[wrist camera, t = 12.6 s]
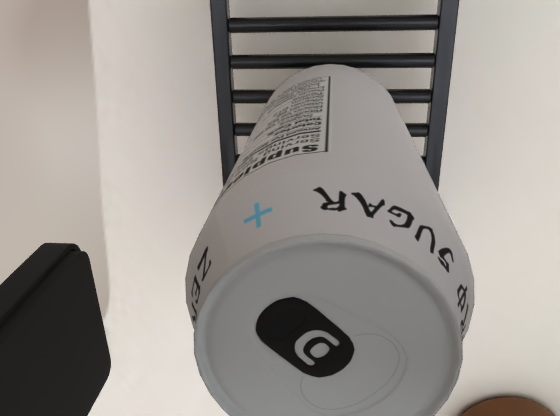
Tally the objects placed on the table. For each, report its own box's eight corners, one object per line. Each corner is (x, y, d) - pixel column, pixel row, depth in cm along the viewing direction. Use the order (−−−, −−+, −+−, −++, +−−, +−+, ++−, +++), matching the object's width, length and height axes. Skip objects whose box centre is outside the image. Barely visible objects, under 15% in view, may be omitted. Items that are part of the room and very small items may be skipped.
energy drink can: (331, 217, 25) (328, 516, 11) (235, 132, 23) (98, 353, 10) (428, 127, 22) (574, 362, 9) (328, 29, 21) (318, 126, 8)
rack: (229, -38, 25) (206, -40, 21) (440, -44, 24) (464, -48, 20) (244, 222, 31) (228, 264, 26) (414, 225, 30) (429, 270, 25)
